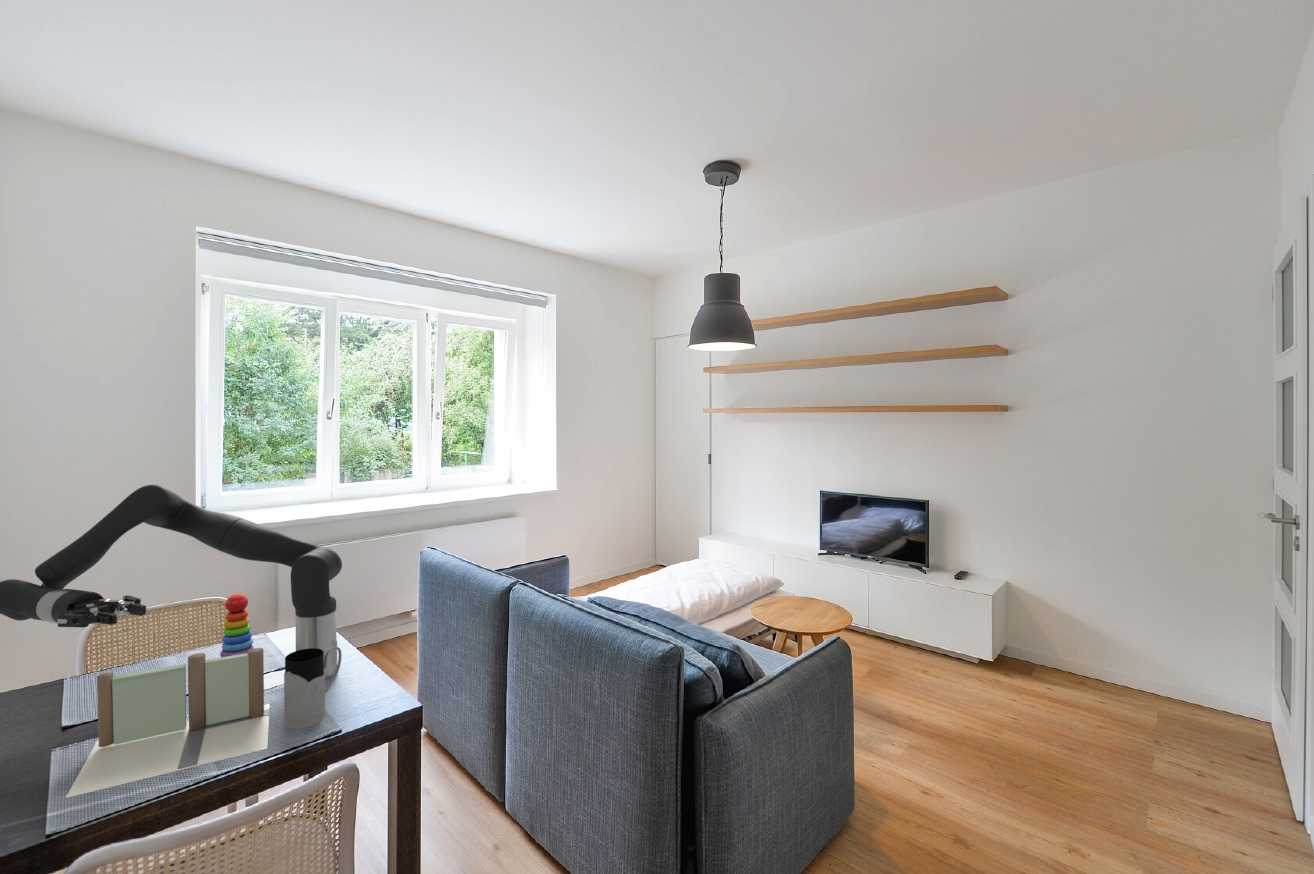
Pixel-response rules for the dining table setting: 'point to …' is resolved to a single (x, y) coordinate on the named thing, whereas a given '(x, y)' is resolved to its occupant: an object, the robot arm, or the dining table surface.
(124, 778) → the card
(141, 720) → the fence panel
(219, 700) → the fixed fence
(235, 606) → the stacking toy
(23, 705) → the dining table surface
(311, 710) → the grey and black mug
